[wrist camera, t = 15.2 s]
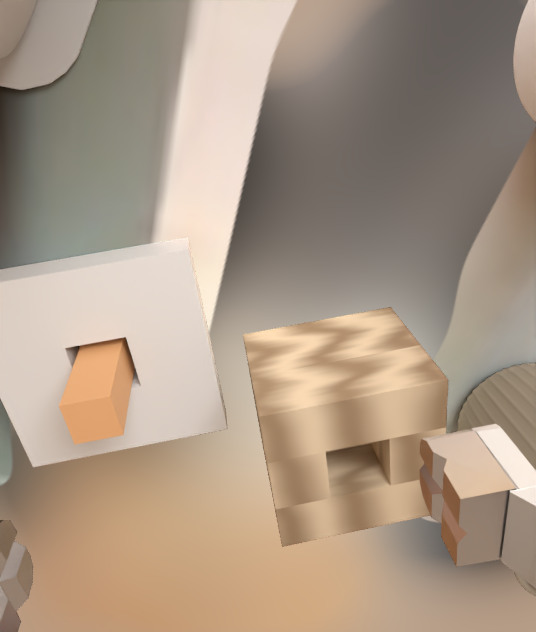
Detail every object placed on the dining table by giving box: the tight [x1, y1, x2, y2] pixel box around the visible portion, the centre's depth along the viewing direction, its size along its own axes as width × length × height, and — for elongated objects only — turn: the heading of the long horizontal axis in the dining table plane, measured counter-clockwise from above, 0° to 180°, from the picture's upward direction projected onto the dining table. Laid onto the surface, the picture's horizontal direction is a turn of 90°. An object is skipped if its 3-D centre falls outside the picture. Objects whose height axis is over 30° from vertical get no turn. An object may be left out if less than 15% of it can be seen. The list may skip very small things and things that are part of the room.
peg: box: [59, 337, 135, 444], centre depth 41 cm, size 4×4×10 cm
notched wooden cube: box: [243, 307, 448, 547], centre depth 45 cm, size 14×14×12 cm
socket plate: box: [0, 237, 227, 467], centre depth 44 cm, size 18×18×3 cm
